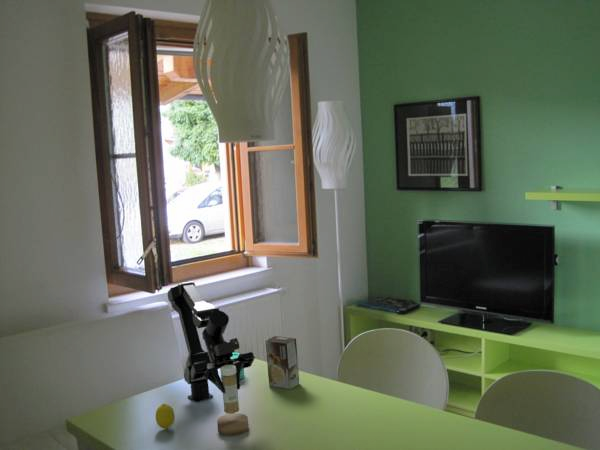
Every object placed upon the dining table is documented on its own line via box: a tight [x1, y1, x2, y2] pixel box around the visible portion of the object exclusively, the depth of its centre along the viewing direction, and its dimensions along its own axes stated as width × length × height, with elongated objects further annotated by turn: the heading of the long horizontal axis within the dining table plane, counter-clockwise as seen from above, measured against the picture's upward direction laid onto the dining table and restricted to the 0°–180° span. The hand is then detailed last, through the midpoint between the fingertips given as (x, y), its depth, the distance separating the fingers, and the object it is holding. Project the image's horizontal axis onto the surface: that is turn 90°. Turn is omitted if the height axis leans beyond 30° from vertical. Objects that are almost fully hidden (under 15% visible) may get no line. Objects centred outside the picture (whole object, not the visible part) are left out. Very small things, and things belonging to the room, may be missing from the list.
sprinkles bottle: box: [219, 365, 240, 414], centre depth 196 cm, size 5×5×14 cm
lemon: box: [155, 403, 176, 430], centre depth 200 cm, size 6×6×8 cm
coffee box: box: [265, 335, 300, 390], centre depth 229 cm, size 9×6×16 cm
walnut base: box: [216, 412, 249, 437], centre depth 197 cm, size 9×9×3 cm
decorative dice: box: [220, 352, 245, 380], centre depth 240 cm, size 8×8×8 cm
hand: (231, 390), depth 194 cm, fingers closed on sprinkles bottle, 4 cm apart
